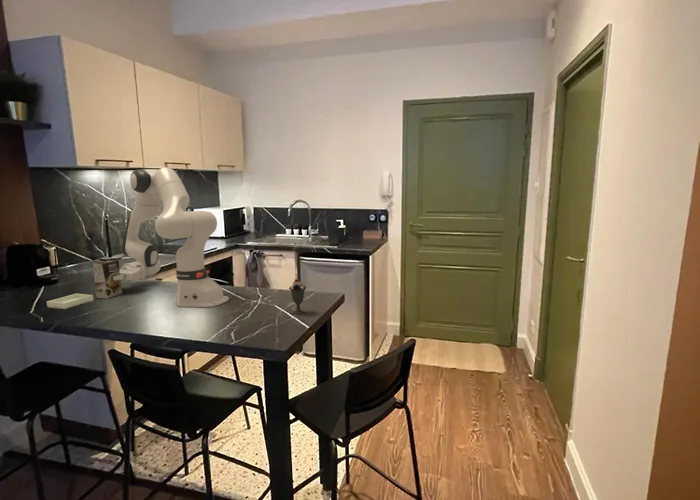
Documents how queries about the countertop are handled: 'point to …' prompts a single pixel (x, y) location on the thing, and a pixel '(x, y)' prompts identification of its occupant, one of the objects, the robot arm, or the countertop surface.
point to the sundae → (297, 295)
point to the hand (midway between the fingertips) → (106, 278)
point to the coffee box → (107, 278)
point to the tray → (69, 301)
